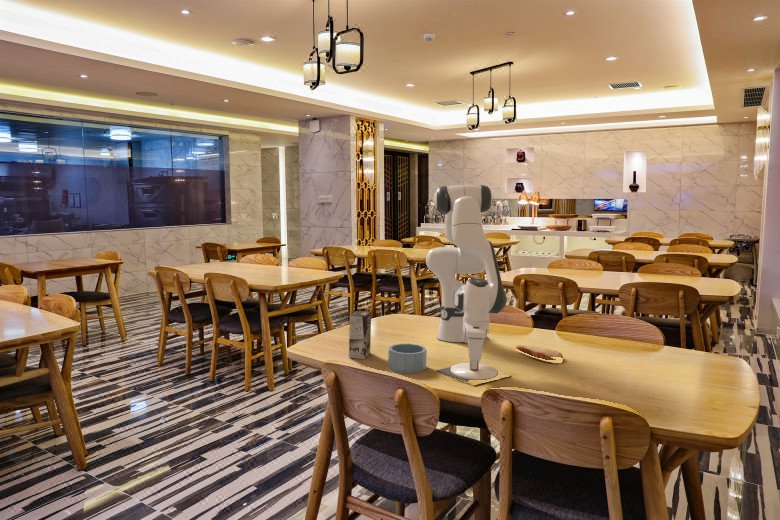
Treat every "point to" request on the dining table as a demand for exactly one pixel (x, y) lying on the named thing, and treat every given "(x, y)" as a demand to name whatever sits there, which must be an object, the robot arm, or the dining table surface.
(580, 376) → the dining table surface
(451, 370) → the lid
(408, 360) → the bowl
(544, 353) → the bread slice
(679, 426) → the dining table surface
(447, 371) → the mat
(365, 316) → the coffee box
